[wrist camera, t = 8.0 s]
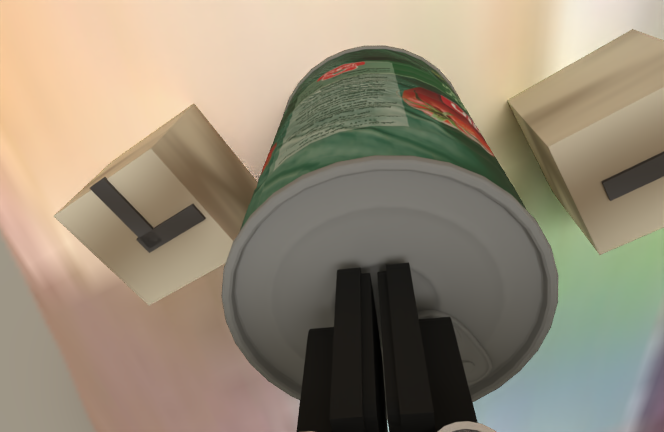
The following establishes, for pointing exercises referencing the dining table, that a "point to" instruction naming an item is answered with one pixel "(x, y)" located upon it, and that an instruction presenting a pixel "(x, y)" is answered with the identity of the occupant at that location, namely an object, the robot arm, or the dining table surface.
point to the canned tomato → (387, 221)
